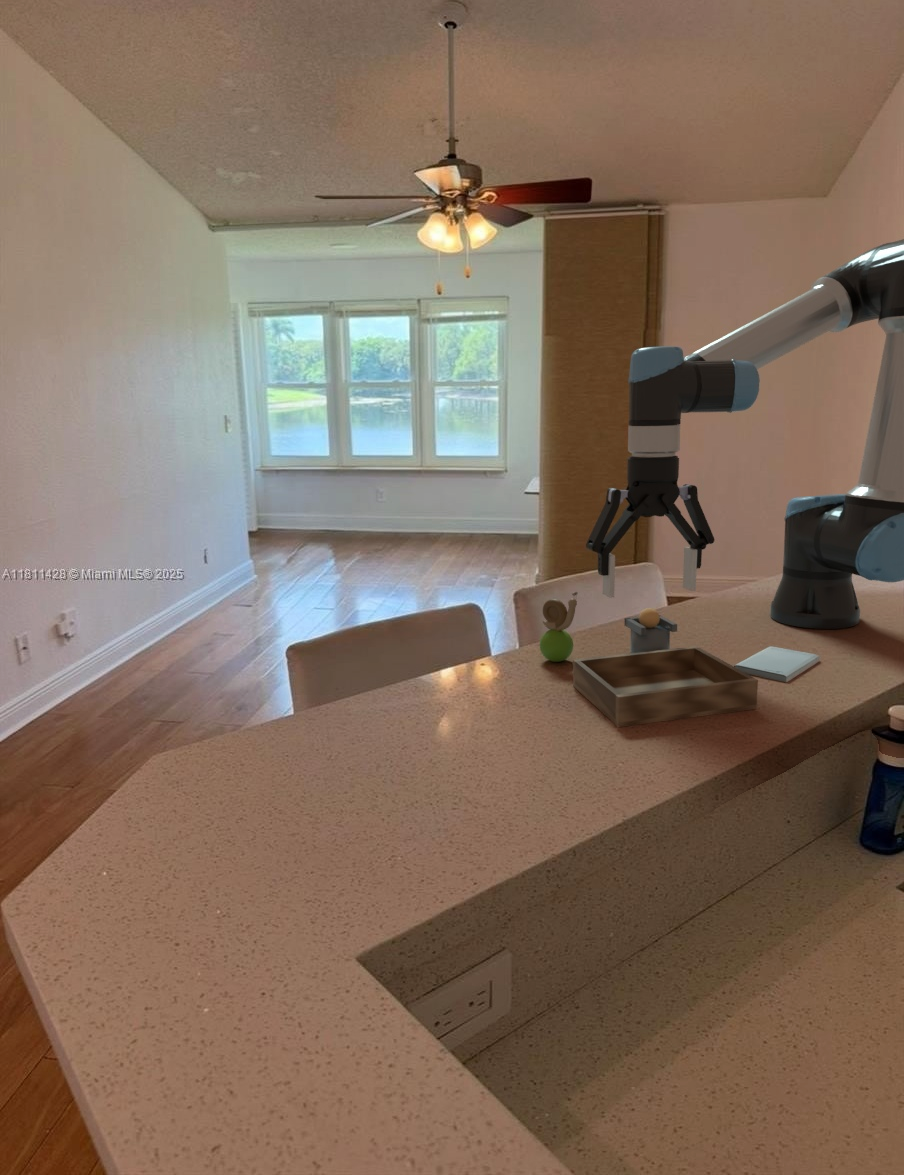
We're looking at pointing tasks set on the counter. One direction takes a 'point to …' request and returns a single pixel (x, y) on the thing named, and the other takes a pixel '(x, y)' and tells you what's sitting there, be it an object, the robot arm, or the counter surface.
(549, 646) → the snail figurine
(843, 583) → the robot arm
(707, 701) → the tray
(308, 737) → the counter surface
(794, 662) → the hard drive
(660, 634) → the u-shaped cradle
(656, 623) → the ball
